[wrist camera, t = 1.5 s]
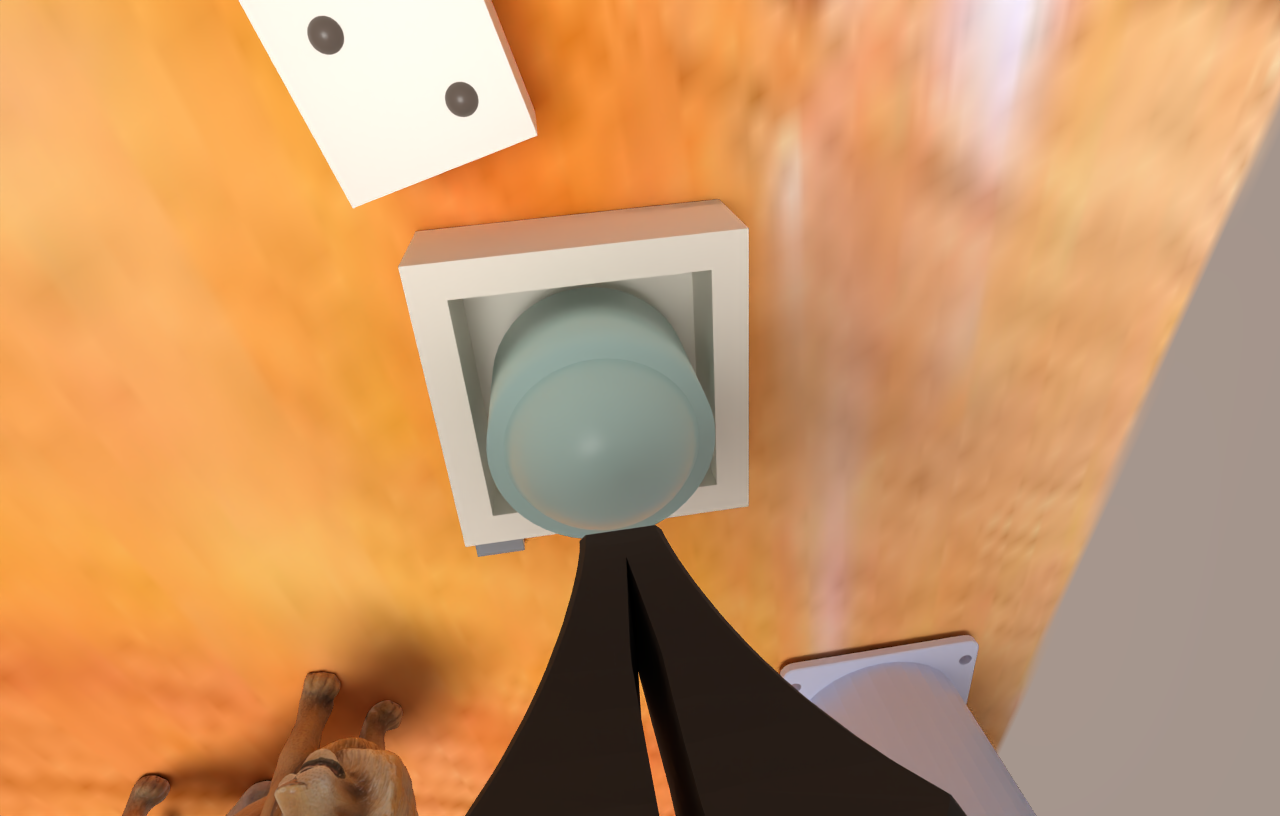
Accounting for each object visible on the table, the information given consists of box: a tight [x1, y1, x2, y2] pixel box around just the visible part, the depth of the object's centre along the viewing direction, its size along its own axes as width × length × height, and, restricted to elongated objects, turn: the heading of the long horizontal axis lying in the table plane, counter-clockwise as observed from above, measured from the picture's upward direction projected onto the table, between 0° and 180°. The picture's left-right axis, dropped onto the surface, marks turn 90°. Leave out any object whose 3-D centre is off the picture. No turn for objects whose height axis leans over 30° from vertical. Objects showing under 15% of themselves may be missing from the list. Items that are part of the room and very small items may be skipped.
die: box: [239, 0, 537, 208], centre depth 15 cm, size 4×4×4 cm
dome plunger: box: [486, 287, 715, 538], centre depth 17 cm, size 5×5×5 cm
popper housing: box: [398, 199, 749, 547], centre depth 20 cm, size 8×8×3 cm
